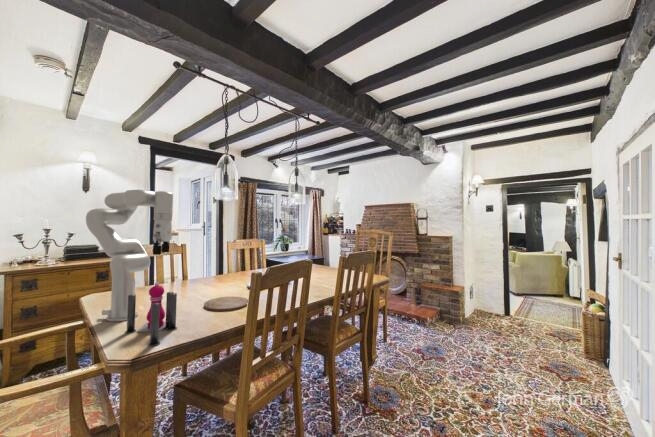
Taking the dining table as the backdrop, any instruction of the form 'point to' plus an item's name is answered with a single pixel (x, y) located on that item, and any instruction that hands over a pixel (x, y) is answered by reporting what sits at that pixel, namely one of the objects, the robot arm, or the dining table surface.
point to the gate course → (153, 317)
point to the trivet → (225, 304)
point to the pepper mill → (156, 297)
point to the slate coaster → (146, 329)
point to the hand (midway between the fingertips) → (161, 253)
